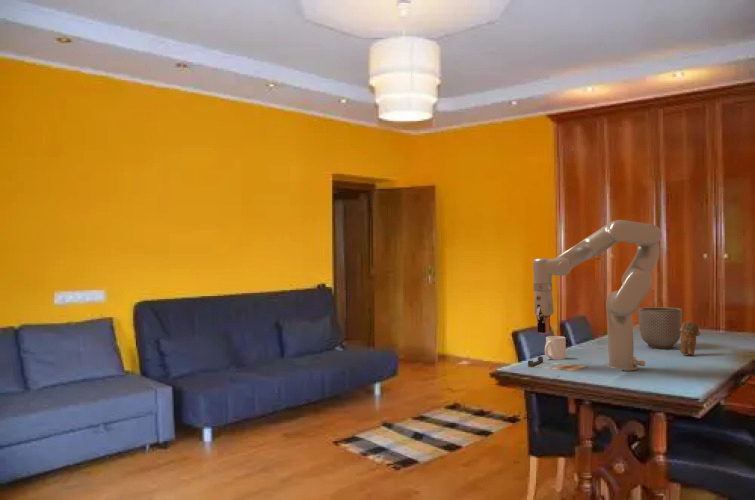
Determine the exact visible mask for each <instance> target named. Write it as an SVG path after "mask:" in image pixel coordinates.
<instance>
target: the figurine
mask: <svg viewBox="0 0 755 500" xmlns="http://www.w3.org/2000/svg"><path fill="white" fill-rule="evenodd" d="M680 331H681V335H680V351H679V352H680V353H681V354H683V355H689V356H693V355H695V351H696V344H697V337H698V336H700V335H701V332H700V329H699V326H698V324H697V323H695V322H693V321H691V320H688V321H685V322H682V326H681V328H680Z"/></svg>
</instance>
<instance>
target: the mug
mask: <svg viewBox="0 0 755 500" xmlns="http://www.w3.org/2000/svg"><path fill="white" fill-rule="evenodd" d="M566 344H567V343H566V337H565V336H560V335H559V336H558V335H549V336H546V337H545V344H544V355H545V356H546V359H549V360H565V359H567V352H566V351H567V346H566Z"/></svg>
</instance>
